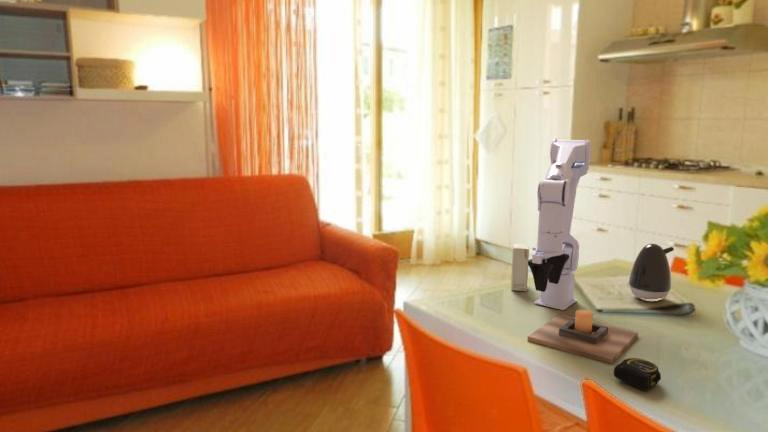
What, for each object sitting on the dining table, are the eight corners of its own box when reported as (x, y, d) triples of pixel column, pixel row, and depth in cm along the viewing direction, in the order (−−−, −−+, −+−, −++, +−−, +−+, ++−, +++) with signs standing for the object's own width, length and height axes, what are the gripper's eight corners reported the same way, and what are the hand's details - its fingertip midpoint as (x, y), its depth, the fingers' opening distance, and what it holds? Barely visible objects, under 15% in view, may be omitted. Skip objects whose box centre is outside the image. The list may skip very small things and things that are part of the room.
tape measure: (610, 381, 106) (612, 362, 105) (632, 371, 110) (633, 353, 109) (645, 396, 101) (646, 376, 100) (666, 385, 104) (668, 367, 104)
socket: (559, 317, 138) (560, 307, 137) (637, 336, 126) (638, 325, 126) (527, 340, 124) (528, 329, 123) (611, 364, 113) (612, 352, 112)
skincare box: (527, 292, 157) (529, 249, 154) (511, 291, 157) (513, 248, 155) (526, 285, 163) (528, 243, 161) (510, 284, 164) (512, 243, 161)
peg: (576, 329, 127) (577, 308, 127) (592, 333, 126) (594, 311, 125) (572, 335, 124) (574, 313, 124) (589, 338, 123) (591, 316, 122)
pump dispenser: (677, 305, 147) (683, 248, 144) (637, 305, 147) (642, 248, 144) (659, 292, 157) (664, 239, 154) (621, 292, 157) (626, 239, 154)
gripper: (547, 223, 140) (543, 276, 142) (521, 233, 129) (517, 290, 131) (575, 227, 135) (571, 282, 138) (550, 238, 124) (547, 297, 127)
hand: (547, 286), depth 134 cm, fingers open, 7 cm apart
